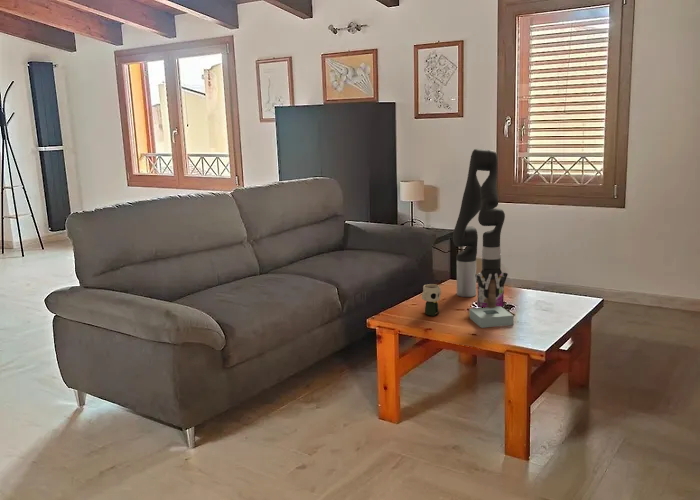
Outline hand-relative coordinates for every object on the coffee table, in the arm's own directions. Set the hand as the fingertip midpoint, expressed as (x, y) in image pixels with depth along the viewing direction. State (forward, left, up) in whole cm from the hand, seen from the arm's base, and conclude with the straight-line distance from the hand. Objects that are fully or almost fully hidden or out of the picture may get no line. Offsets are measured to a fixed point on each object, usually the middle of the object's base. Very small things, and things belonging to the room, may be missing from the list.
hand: (491, 296), depth 273 cm
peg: (0, 0, -4) cm, 4 cm away
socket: (0, 0, -11) cm, 11 cm away
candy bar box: (-16, +6, -11) cm, 20 cm away
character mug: (-16, -21, -11) cm, 29 cm away
